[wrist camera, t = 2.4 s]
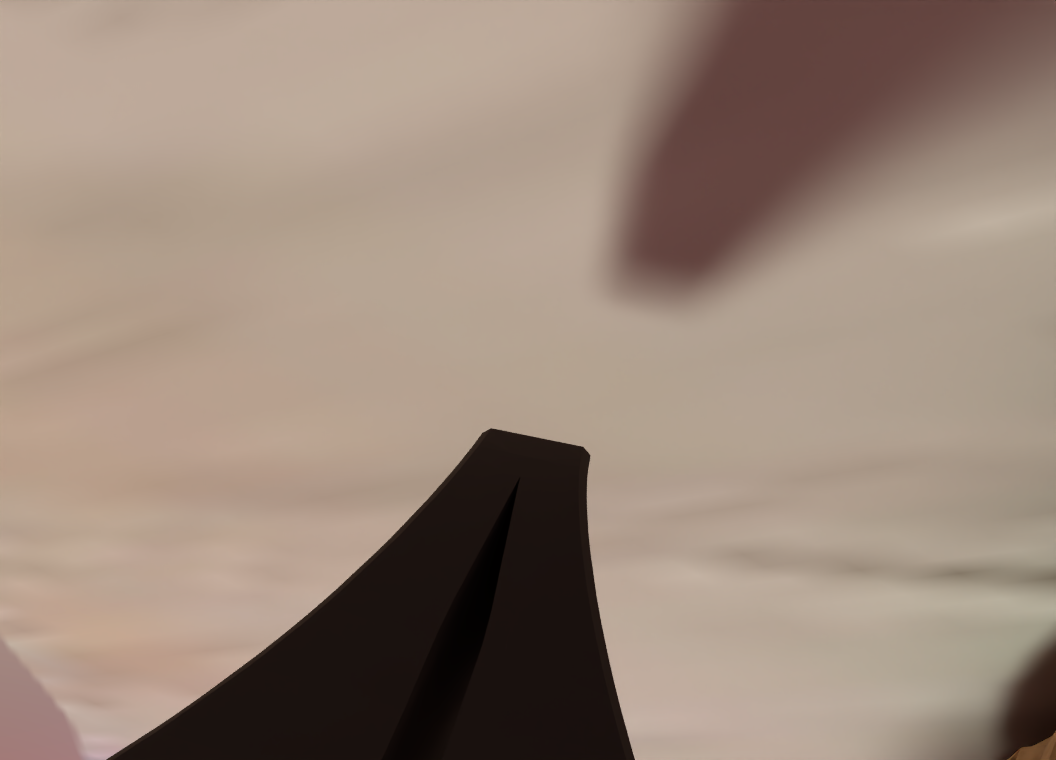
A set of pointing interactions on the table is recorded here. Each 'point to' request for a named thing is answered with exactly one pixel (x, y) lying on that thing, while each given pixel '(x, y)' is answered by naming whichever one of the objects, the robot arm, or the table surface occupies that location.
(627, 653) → the table surface
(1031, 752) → the brown oblong lump
